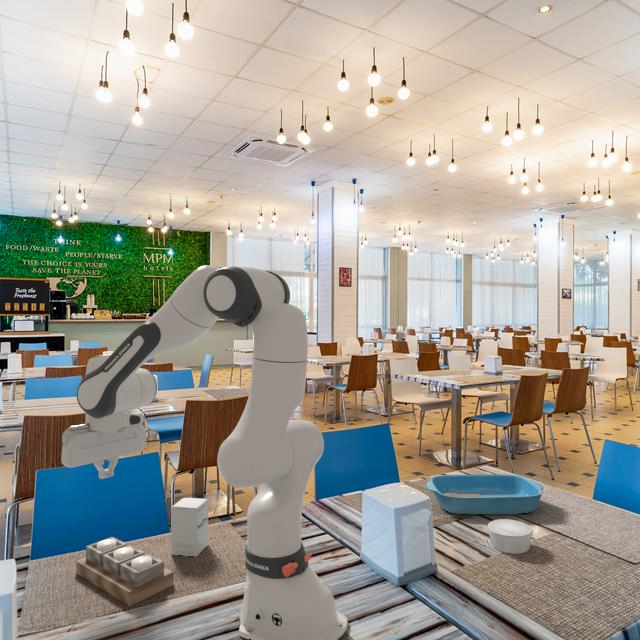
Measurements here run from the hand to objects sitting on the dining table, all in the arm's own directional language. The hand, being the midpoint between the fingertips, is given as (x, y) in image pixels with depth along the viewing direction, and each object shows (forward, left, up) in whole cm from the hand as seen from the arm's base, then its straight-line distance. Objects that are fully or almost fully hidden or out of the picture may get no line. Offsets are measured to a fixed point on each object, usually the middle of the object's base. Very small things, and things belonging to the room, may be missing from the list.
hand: (106, 477), depth 124 cm
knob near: (-15, 0, -20) cm, 25 cm away
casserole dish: (-57, -97, -23) cm, 115 cm away
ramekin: (-73, -72, -23) cm, 105 cm away
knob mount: (-7, 0, -23) cm, 24 cm away
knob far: (0, 0, -20) cm, 20 cm away
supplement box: (-7, -19, -23) cm, 31 cm away
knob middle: (-7, 0, -20) cm, 21 cm away
